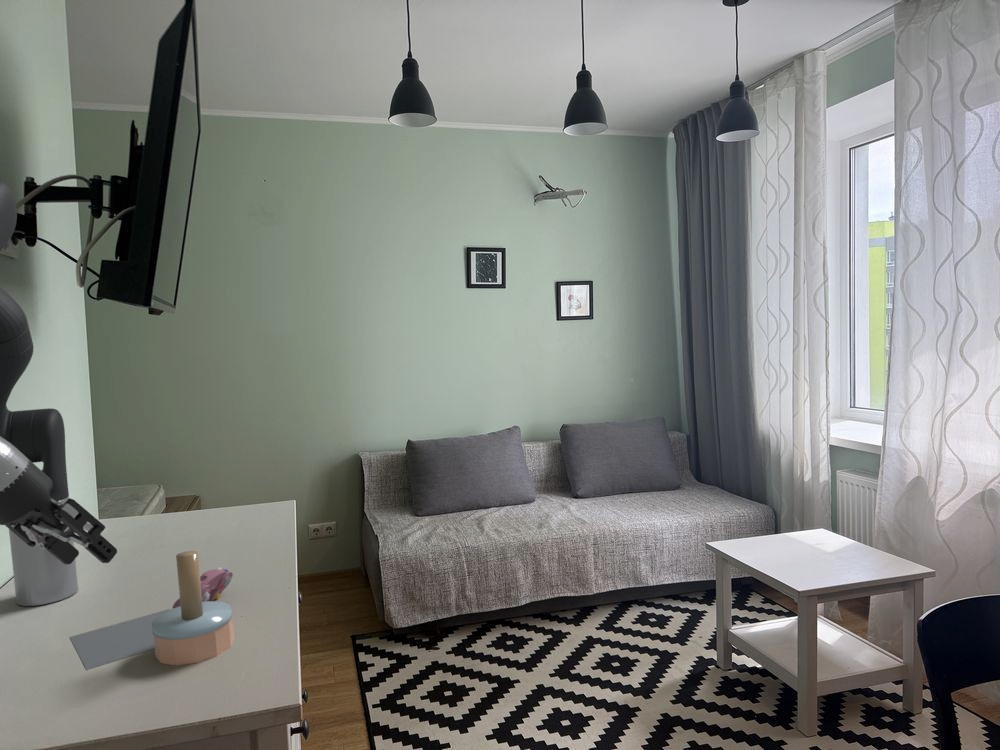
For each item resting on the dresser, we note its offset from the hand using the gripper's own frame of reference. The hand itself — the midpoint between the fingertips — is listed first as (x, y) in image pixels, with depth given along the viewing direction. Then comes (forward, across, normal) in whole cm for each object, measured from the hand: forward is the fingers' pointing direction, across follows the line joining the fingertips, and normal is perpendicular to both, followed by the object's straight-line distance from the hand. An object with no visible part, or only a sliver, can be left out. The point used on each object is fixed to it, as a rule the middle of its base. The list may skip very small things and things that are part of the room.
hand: (92, 558), depth 94 cm
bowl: (+18, -6, +2) cm, 19 cm away
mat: (+16, +6, +2) cm, 18 cm away
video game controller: (+24, +7, -8) cm, 26 cm away
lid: (+15, -6, 0) cm, 16 cm away
